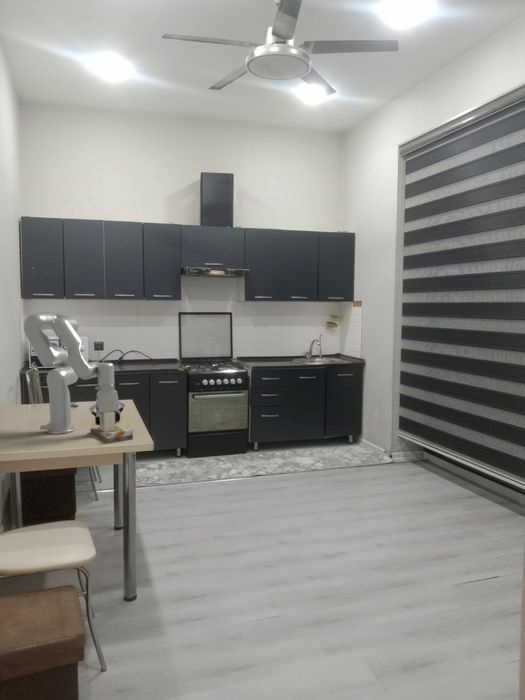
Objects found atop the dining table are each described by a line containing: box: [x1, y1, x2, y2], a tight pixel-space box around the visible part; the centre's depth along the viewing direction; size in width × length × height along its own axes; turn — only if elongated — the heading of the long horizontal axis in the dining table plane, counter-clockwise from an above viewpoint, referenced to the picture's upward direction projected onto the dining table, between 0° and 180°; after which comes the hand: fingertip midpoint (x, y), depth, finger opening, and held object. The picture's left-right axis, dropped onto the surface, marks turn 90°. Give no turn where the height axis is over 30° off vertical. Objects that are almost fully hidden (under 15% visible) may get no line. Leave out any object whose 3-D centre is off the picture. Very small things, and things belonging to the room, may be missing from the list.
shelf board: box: [90, 425, 134, 444], centre depth 245 cm, size 12×24×4 cm, turn 36°
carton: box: [99, 412, 116, 432], centre depth 248 cm, size 5×7×9 cm
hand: (108, 423), depth 248 cm, fingers open, 9 cm apart
